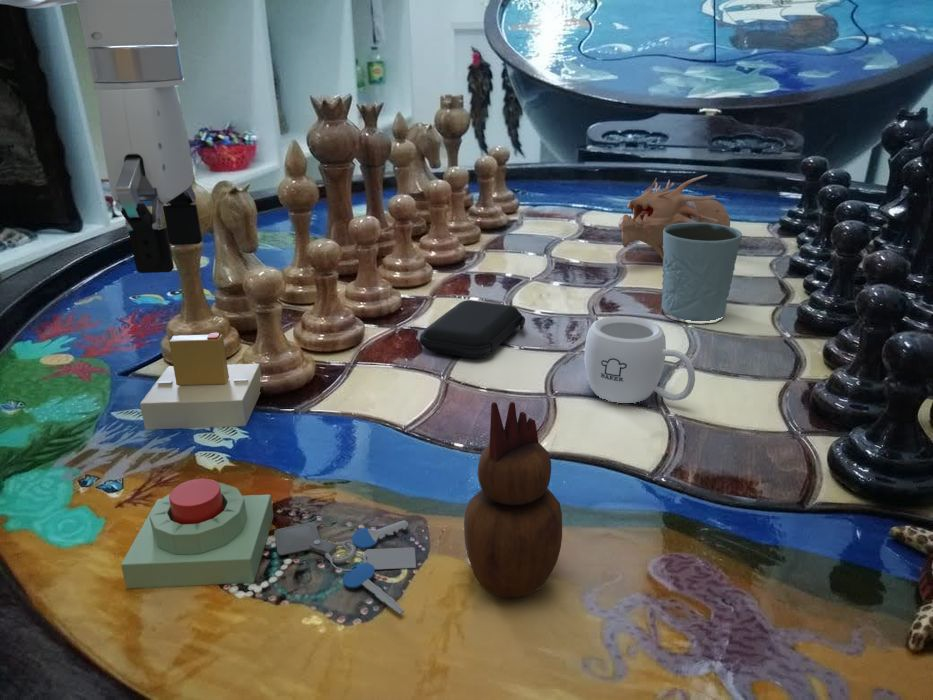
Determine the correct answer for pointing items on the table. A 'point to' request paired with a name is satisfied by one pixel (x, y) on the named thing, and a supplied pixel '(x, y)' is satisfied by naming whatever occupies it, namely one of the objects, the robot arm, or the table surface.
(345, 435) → the table surface
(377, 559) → the key chain
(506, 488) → the wooden figurine
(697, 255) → the embossed teal cup
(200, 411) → the plate
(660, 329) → the mug
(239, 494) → the box
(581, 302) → the table surface
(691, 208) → the dragon head statue
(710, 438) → the table surface
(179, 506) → the release button
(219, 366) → the tan block
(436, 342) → the carrying case
